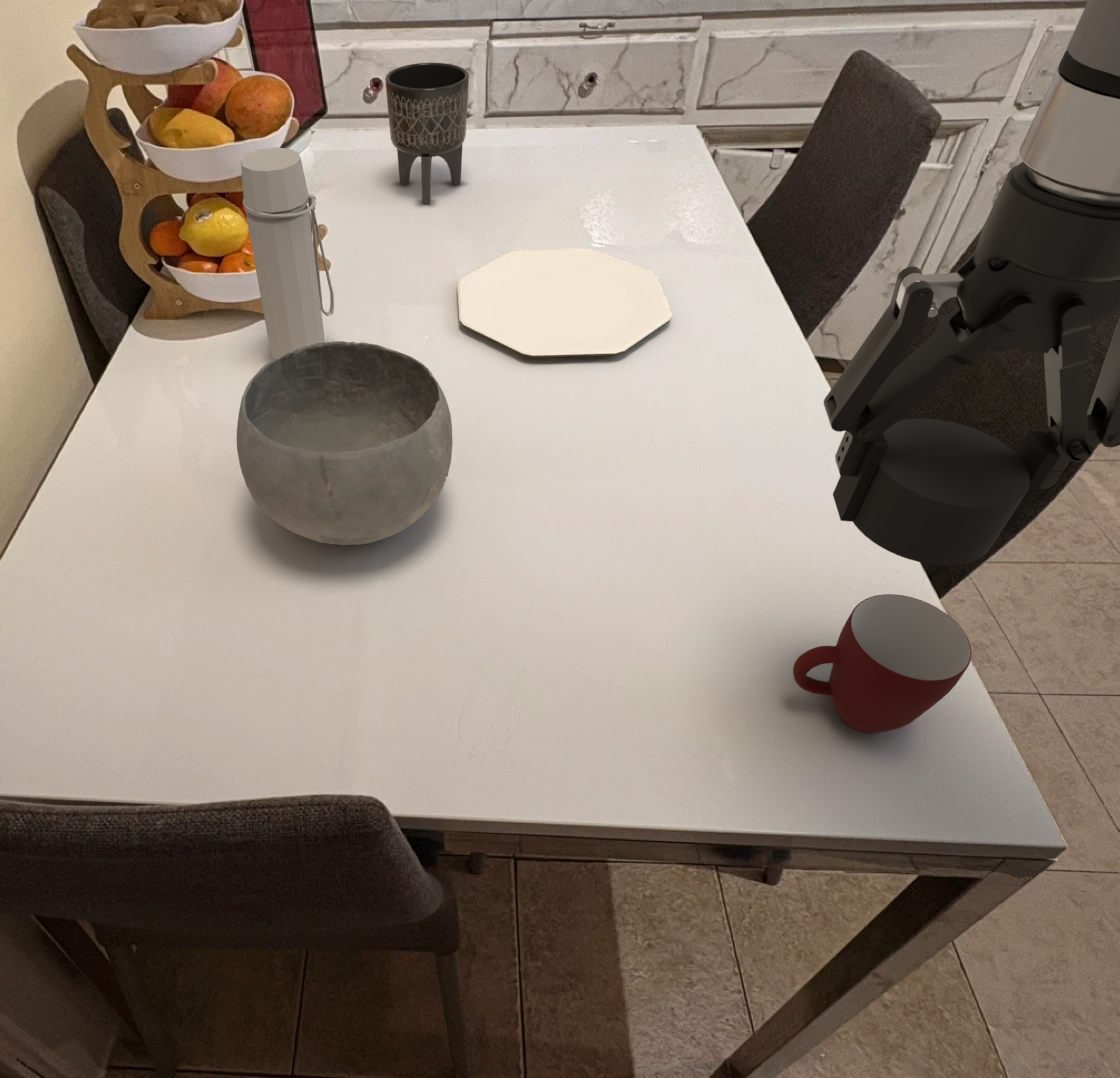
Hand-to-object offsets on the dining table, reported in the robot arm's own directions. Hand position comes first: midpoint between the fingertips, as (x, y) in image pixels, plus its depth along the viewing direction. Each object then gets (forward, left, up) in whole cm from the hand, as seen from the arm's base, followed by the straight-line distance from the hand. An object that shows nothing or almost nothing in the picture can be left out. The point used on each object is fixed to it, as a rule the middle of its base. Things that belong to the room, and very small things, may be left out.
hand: (918, 513), depth 57 cm
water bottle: (+70, -9, -19) cm, 73 cm away
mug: (-2, +3, -19) cm, 20 cm away
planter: (+88, -58, -19) cm, 107 cm away
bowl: (+46, +9, -19) cm, 50 cm away
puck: (0, 0, 0) cm, 0 cm away
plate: (+50, -38, -19) cm, 66 cm away
